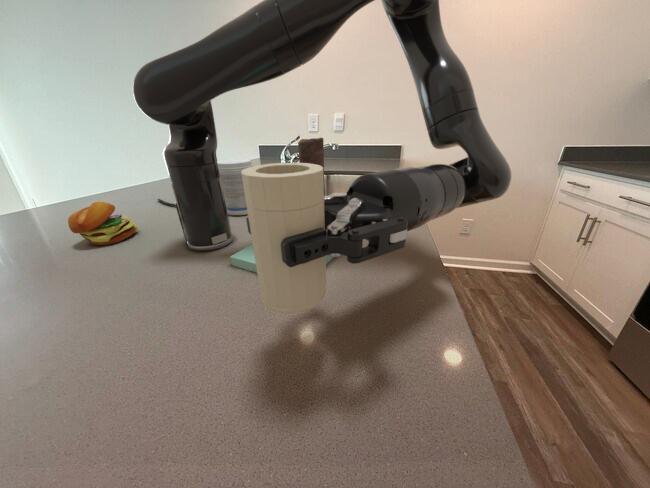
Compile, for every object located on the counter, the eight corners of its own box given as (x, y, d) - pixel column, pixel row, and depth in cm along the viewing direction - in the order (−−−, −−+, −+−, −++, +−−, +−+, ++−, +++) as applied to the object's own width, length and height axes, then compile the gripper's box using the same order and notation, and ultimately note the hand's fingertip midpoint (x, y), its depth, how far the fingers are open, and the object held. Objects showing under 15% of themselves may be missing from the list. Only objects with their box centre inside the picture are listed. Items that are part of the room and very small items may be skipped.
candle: (322, 211, 76) (320, 138, 67) (298, 210, 77) (293, 139, 69) (327, 204, 83) (326, 136, 74) (305, 203, 84) (301, 137, 75)
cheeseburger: (146, 235, 62) (119, 199, 56) (96, 261, 56) (61, 223, 51) (134, 225, 68) (109, 191, 62) (88, 247, 63) (56, 212, 57)
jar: (247, 300, 25) (223, 172, 19) (286, 269, 30) (275, 161, 24) (303, 322, 22) (293, 179, 17) (336, 283, 27) (336, 164, 22)
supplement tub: (258, 214, 75) (251, 162, 68) (224, 218, 73) (213, 164, 67) (258, 205, 83) (251, 157, 77) (227, 208, 82) (218, 159, 75)
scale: (231, 265, 48) (228, 248, 47) (280, 236, 60) (278, 222, 59) (303, 287, 42) (302, 268, 40) (342, 249, 53) (342, 233, 52)
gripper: (355, 162, 34) (229, 180, 25) (461, 179, 23) (307, 220, 15) (353, 216, 37) (241, 248, 29) (446, 252, 27) (312, 320, 18)
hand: (264, 238), depth 22 cm, fingers closed on jar, 6 cm apart
